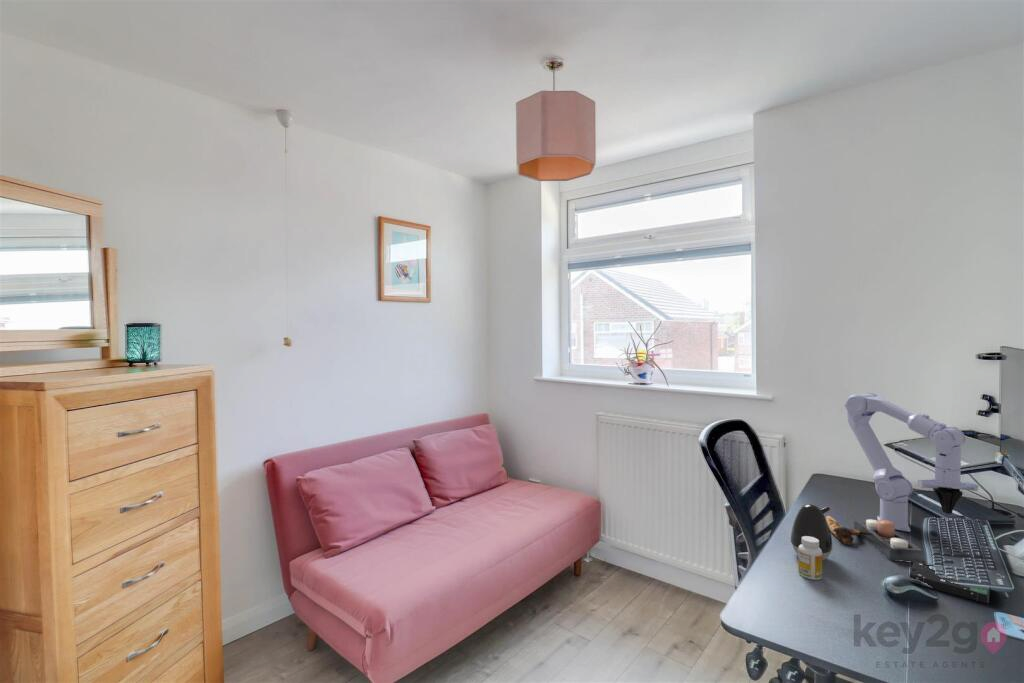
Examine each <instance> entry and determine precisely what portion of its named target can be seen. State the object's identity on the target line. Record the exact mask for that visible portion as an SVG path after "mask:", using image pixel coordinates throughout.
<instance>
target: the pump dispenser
mask: <svg viewBox="0 0 1024 683" xmlns="http://www.w3.org/2000/svg"><path fill="white" fill-rule="evenodd" d="M829 511H830V507H829V506H825V507H823V508H820V507H819V506H817V505H815V504H813V503H808V504H804V505H803V506H801V508H800V509H799V510H798V511H797V513H796V516H795V518H794V521H793V523H792V528H791V533H790V543H791V545H792V547H793V548H792V549H793V550H794V552H795V553H796V554H797V555H798V548H799V545H801V544H802V542H801V540H802V537H803V536H810V537H814V538H816V539H818V540H819V548H820V549H821V550H822V562H823V561H825V560H827V559H828V557H830V556H831V552H832V551H833V548H834V547H833V539H832V532H831V531H830V529H829V525H828V523H827V520H826V518H825V516H826V515H825V514H826V513H828V512H829Z"/></svg>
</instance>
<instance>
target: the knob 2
mask: <svg viewBox="0 0 1024 683" xmlns="http://www.w3.org/2000/svg"><path fill="white" fill-rule="evenodd" d="M890 544H891V545H892V546H893V547H899V548H908V542H907V541H906V540H903V539H900V538H891V539H890Z"/></svg>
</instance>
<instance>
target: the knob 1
mask: <svg viewBox="0 0 1024 683" xmlns="http://www.w3.org/2000/svg"><path fill="white" fill-rule="evenodd" d="M865 520H866V525H867V526H868V527H872V528H878V519H877V520H876V519H871V518H868V519H865Z"/></svg>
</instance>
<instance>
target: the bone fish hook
mask: <svg viewBox="0 0 1024 683" xmlns="http://www.w3.org/2000/svg"><path fill="white" fill-rule="evenodd" d="M824 516H825V518H826V520H827V523H828V525H829V529H830V533H831V534H833V535H834V536H835V537H836V539H837V540H839V541H840V542H841V543H842V544H845V545H846V546H850V545H852V544H853V542H854V537H853V536H860V535H859V534H860V531H858V530H854V528H853V529H852V528H847V527H842V526H841V525H840V524H839V523H838V521H837V520H836V519H835V518H833V517H832V516H831V515H824Z"/></svg>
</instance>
